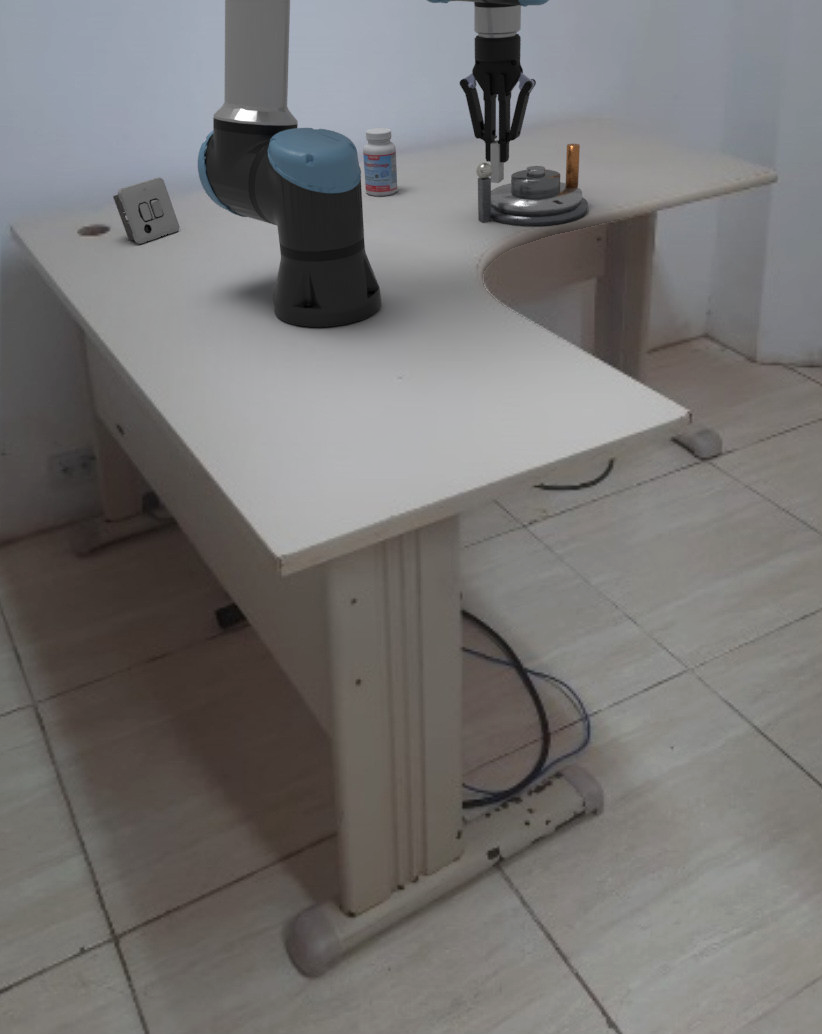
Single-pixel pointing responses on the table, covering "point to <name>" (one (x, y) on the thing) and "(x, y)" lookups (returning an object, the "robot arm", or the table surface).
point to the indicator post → (484, 192)
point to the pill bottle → (380, 163)
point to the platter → (558, 204)
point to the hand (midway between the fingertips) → (497, 180)
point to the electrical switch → (146, 210)
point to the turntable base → (540, 217)
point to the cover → (535, 183)
